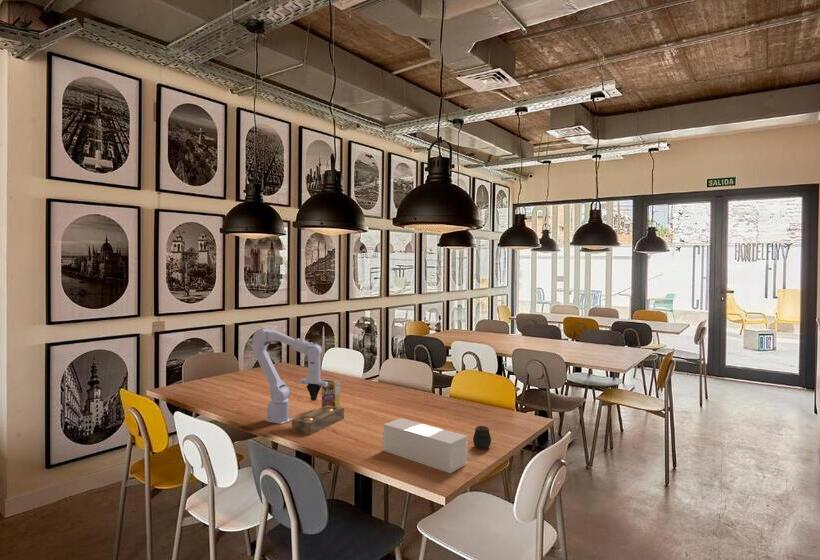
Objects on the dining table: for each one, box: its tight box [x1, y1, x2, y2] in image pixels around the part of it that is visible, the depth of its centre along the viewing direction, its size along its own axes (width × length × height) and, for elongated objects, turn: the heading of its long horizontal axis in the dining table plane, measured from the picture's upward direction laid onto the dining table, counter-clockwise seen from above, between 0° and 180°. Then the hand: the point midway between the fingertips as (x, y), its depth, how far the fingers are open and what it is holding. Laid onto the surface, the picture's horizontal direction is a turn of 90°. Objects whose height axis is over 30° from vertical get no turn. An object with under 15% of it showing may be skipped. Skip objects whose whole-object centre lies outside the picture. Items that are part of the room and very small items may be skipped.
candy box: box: [321, 377, 341, 407], centre depth 243 cm, size 9×4×15 cm, turn 60°
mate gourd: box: [472, 425, 492, 450], centre depth 193 cm, size 7×8×10 cm
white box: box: [382, 417, 468, 474], centre depth 182 cm, size 32×11×11 cm, turn 50°
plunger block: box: [291, 405, 345, 436], centre depth 219 cm, size 10×26×5 cm, turn 155°
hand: (313, 400), depth 222 cm, fingers closed
